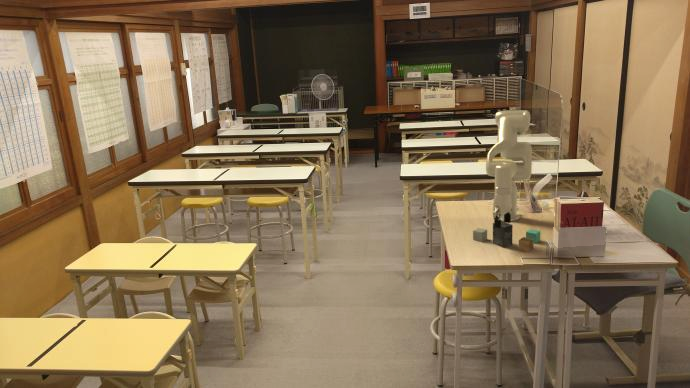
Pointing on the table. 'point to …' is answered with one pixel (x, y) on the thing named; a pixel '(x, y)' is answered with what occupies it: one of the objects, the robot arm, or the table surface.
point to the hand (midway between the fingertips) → (502, 224)
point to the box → (503, 235)
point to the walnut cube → (526, 244)
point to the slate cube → (480, 234)
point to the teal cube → (533, 235)
